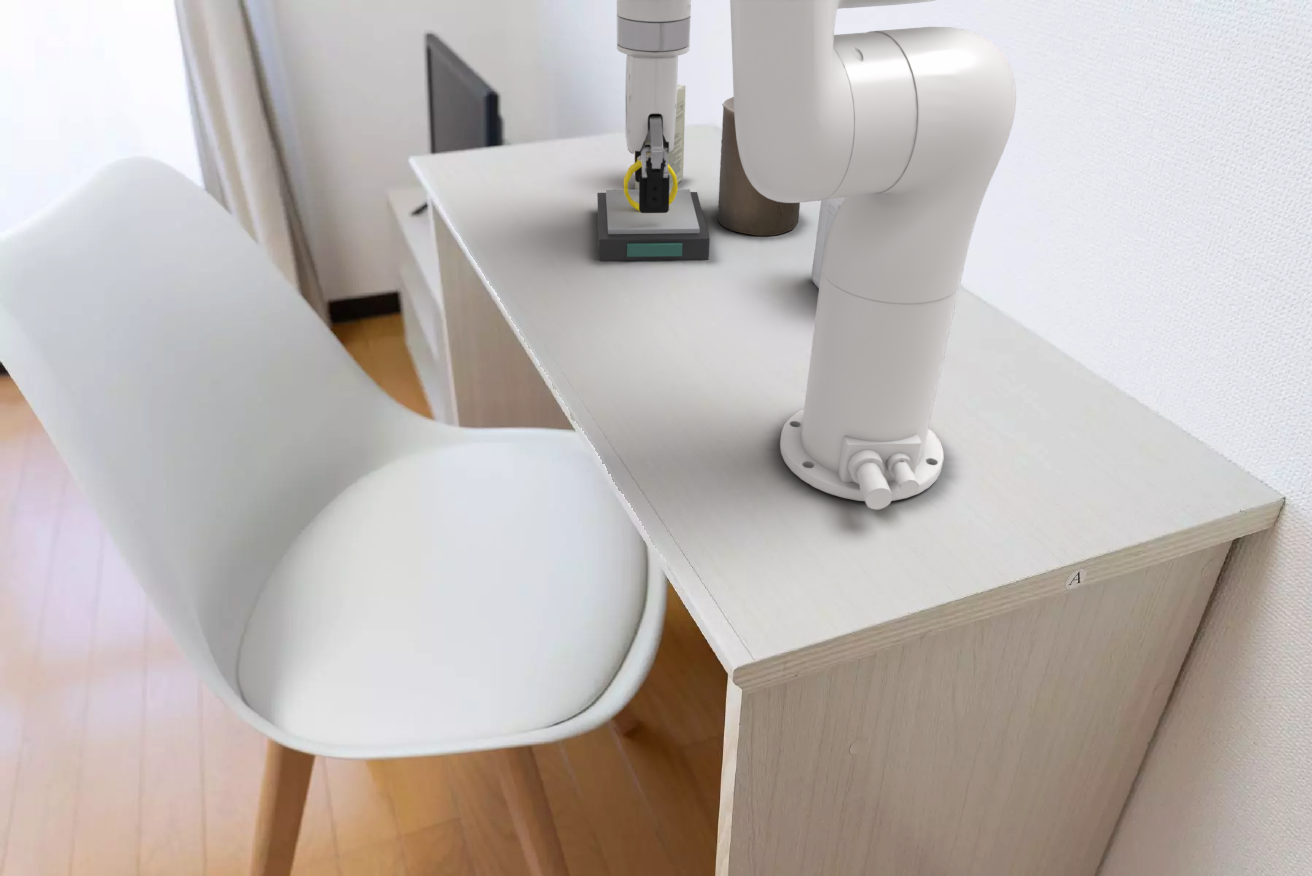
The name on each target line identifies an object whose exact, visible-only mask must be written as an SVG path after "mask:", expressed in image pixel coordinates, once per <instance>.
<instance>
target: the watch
mask: <svg viewBox="0 0 1312 876" xmlns="http://www.w3.org/2000/svg"><path fill="white" fill-rule="evenodd" d="M648 158H651V157H650V156H647V160H648ZM640 167H642V162H641V156H639V157H638V158H637V162H636V163H635V162H634V163H633V164H631V165H630V166H629V167H628V169H627V170H626V173H625V175H624V177H623V190H624V193H625V196H626V198H627V200H628V202H629V203H630V205H631V206H632V207H634V208H635V209H637V210H638V211H639V204H638V203H637V202H635V201H634V200H632V199H631V197H630V195H629V193H628V190H629V182H630V180H631V179H632V176H633V175H634V174H635V171H636V170H638V169H639V168H640ZM668 171H669V173H670V174H671V175H672V180H673V187H672V190H671V192H670V195H669V205H670V204H671V203H672V202H673V200H674V199H675V196H676V193H677V191H678V189H679V186H678V185H679V183H678V184H677V177H676V175H675V172H674V171H673V170H672V168H671V167H670V165H669V164H668Z"/></svg>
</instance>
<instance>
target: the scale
mask: <svg viewBox="0 0 1312 876" xmlns="http://www.w3.org/2000/svg"><path fill="white" fill-rule="evenodd" d="M671 190H672V189H669V195H670V192H671ZM596 193H597V194H596V195H597V230H598V233H597V234H598V258H599V259H598V260H599V261H600V262H601V261H602V262H603V261H605V262H606V261H607V262H608V261H688V260H689V261H693V260H695V261H697V260H700V261H701V260H709V259H710V240H711V239H710V235H709V231H708V227H707V223H706V220H705V215H704V213H703V209H702V204H701V202H700V197H699V194H698V192H697V191H691V190H690V188H685V189H684V188H678V191H677V193H676V196H675V199H674V200H673V202H672V203H671V204H670V205H669V211H668V212H667V213H641V212H640V211H638V210H637V209H635V208H634V207H632V206H631V205H630V203H629V202H628V200H627V198H626V196H625V193H624V189H605V192H596ZM628 193H629V195H630V197H631V199H632V200H634V201H635V202H637V203H638V204H639V190H637V189H628Z"/></svg>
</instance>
